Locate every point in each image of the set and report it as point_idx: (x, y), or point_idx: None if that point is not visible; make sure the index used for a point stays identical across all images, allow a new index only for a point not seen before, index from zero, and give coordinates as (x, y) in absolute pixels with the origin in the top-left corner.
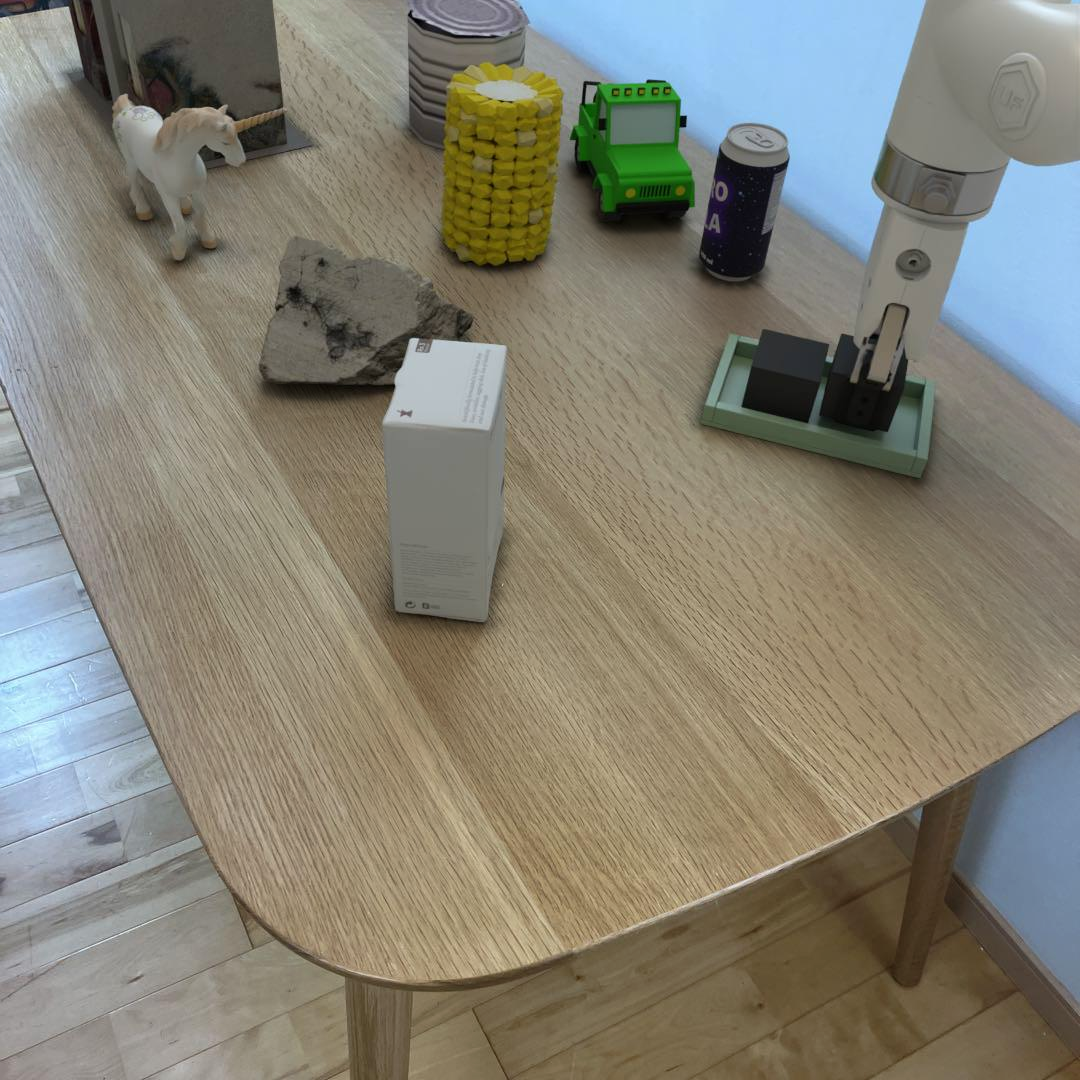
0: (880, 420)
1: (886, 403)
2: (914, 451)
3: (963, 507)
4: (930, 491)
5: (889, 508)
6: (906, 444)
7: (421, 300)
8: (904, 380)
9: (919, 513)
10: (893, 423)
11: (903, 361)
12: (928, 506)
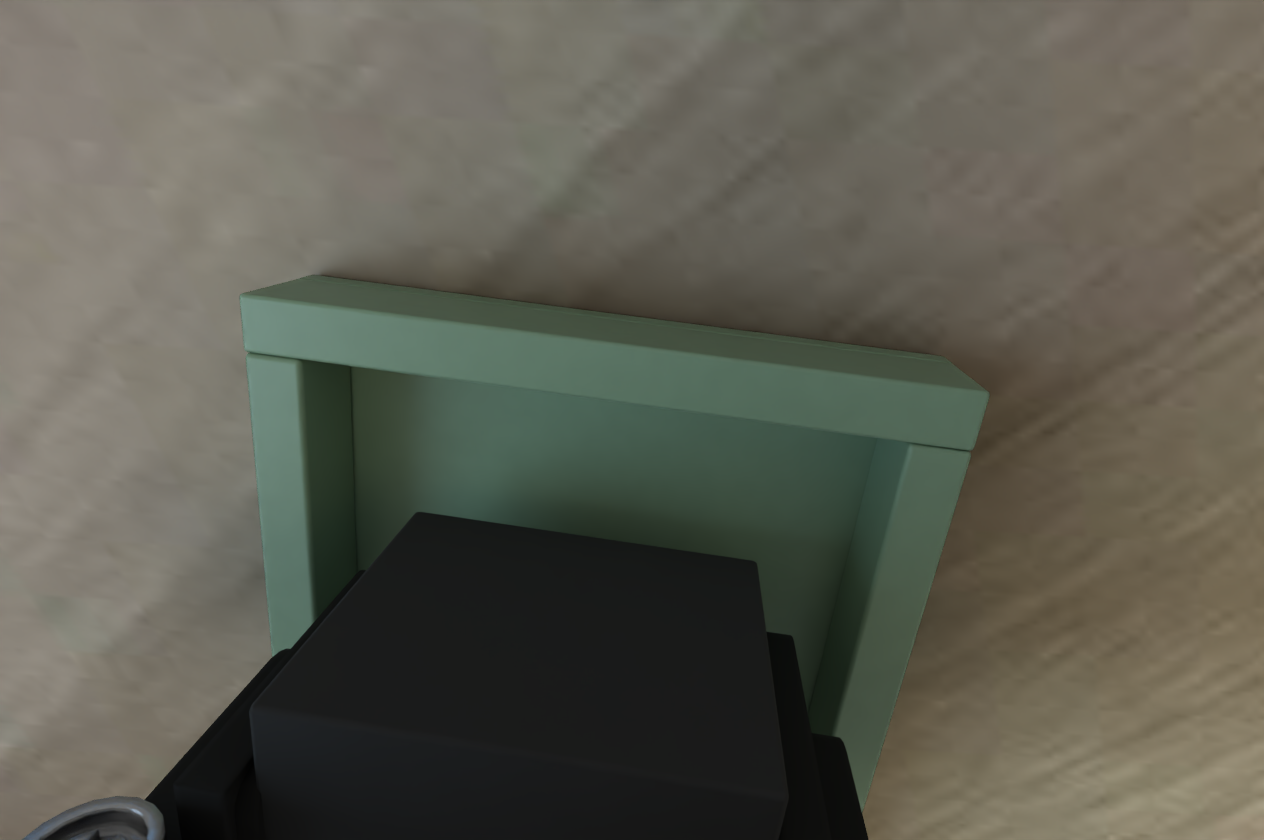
0: (799, 677)
1: (817, 776)
2: (922, 457)
3: (1153, 138)
4: (1033, 308)
5: (1172, 502)
6: (731, 422)
7: None
8: (680, 786)
9: (1207, 372)
10: (582, 468)
11: (430, 764)
12: (1151, 325)
